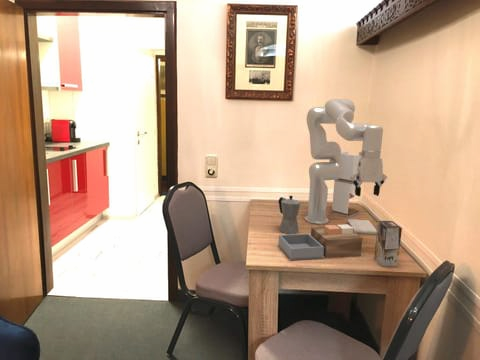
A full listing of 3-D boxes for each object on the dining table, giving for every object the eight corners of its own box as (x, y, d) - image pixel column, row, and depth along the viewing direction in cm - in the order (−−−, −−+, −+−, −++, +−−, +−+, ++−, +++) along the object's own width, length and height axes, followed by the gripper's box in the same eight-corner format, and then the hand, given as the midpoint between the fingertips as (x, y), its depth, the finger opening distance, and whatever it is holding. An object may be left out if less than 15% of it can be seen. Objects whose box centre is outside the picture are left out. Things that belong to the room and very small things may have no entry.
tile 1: (323, 230, 167) (324, 225, 167) (334, 230, 168) (335, 224, 168) (328, 234, 162) (329, 229, 162) (339, 234, 163) (340, 228, 163)
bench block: (310, 244, 173) (311, 227, 172) (342, 242, 177) (344, 225, 175) (325, 258, 158) (326, 239, 156) (360, 256, 161) (362, 237, 160)
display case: (348, 217, 214) (354, 155, 207) (331, 213, 221) (336, 153, 214) (358, 213, 222) (364, 153, 215) (341, 209, 229) (346, 151, 222)
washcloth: (368, 224, 206) (368, 218, 205) (378, 235, 188) (378, 229, 188) (345, 223, 206) (346, 217, 206) (353, 234, 189) (354, 228, 188)
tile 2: (336, 230, 168) (337, 224, 168) (347, 229, 169) (347, 224, 169) (342, 234, 164) (342, 228, 163) (352, 233, 165) (353, 228, 164)
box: (278, 245, 170) (278, 235, 169) (308, 244, 173) (308, 233, 172) (290, 260, 155) (291, 248, 154) (323, 258, 158) (324, 247, 157)
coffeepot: (305, 233, 187) (307, 197, 183) (290, 236, 182) (292, 199, 178) (284, 224, 199) (286, 190, 196) (270, 227, 194) (272, 192, 190)
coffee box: (398, 266, 152) (403, 228, 149) (382, 266, 152) (387, 227, 148) (388, 257, 161) (392, 220, 158) (373, 257, 161) (377, 220, 157)
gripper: (356, 156, 156) (352, 198, 160) (394, 156, 160) (390, 197, 164) (347, 153, 163) (344, 193, 167) (384, 153, 167) (380, 192, 171)
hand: (366, 195), depth 165 cm, fingers open, 8 cm apart
